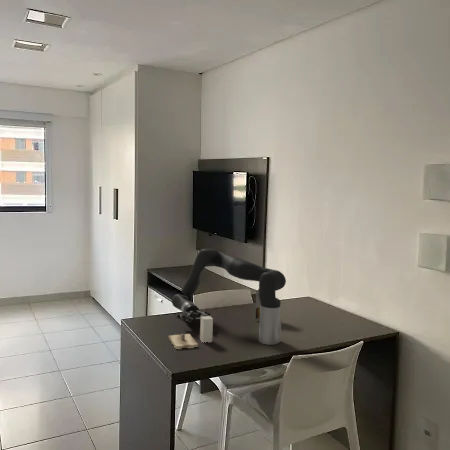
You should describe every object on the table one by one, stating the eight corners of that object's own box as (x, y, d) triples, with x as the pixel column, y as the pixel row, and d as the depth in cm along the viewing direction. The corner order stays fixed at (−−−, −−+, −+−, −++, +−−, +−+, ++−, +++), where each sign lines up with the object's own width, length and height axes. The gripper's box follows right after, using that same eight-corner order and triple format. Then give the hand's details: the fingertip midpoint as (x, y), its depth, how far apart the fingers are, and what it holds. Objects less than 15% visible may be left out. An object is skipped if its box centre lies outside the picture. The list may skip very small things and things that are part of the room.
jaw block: (209, 338, 221) (209, 315, 219) (212, 342, 216) (212, 318, 215) (200, 339, 219) (200, 316, 218) (202, 342, 215) (203, 319, 214)
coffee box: (273, 319, 254) (275, 290, 252) (271, 323, 248) (273, 292, 246) (257, 317, 257) (258, 288, 255) (254, 320, 250) (256, 291, 249)
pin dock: (189, 336, 222) (189, 328, 222) (198, 347, 209) (198, 338, 209) (168, 338, 219) (168, 330, 218) (176, 349, 206) (176, 340, 205)
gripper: (176, 304, 239) (185, 313, 224) (203, 302, 244) (213, 311, 229) (176, 318, 240) (184, 328, 225) (203, 316, 245) (213, 326, 230)
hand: (199, 320), depth 227 cm, fingers open, 8 cm apart
